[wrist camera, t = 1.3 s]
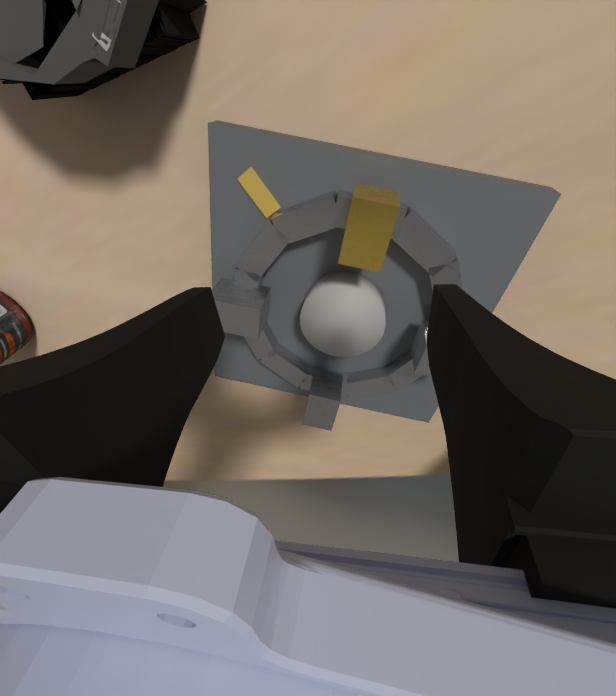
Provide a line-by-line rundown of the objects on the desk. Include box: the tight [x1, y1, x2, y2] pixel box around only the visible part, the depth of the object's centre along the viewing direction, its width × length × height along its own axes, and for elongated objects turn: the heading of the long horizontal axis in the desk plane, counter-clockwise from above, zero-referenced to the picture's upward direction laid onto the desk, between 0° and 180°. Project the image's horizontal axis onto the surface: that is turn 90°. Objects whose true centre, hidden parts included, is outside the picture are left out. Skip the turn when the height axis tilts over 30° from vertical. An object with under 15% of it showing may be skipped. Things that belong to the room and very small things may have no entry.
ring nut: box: [212, 182, 463, 430], centre depth 21 cm, size 15×15×4 cm
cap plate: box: [208, 121, 561, 423], centre depth 22 cm, size 17×17×3 cm
